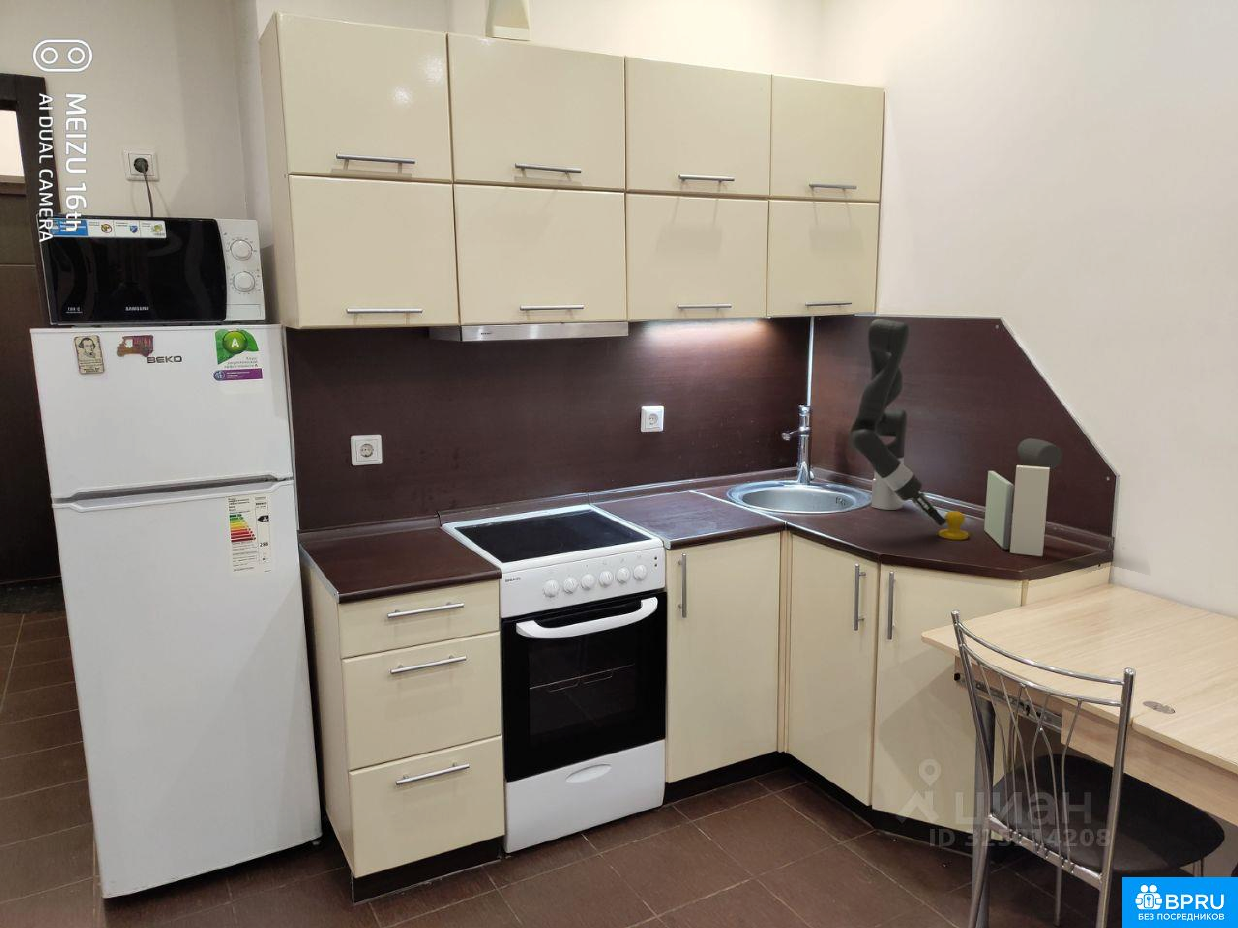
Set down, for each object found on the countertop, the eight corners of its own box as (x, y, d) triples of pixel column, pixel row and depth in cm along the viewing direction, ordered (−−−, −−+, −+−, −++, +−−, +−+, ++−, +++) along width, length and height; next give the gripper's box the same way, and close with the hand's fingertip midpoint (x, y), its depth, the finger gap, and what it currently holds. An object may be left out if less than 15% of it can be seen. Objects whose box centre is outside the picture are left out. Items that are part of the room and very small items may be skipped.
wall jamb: (1009, 552, 243) (1016, 466, 239) (1010, 549, 246) (1017, 464, 241) (1042, 556, 239) (1049, 469, 235) (1042, 553, 242) (1049, 467, 237)
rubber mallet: (1008, 538, 257) (1016, 436, 251) (1033, 538, 257) (1042, 436, 251) (1030, 550, 244) (1038, 443, 239) (1056, 550, 245) (1065, 443, 239)
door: (983, 529, 264) (987, 470, 261) (990, 529, 264) (994, 470, 261) (1003, 549, 244) (1008, 485, 241) (1010, 549, 244) (1015, 485, 240)
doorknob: (965, 533, 263) (970, 540, 255) (937, 532, 264) (941, 539, 257) (966, 508, 262) (972, 515, 254) (938, 507, 263) (943, 514, 255)
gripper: (915, 476, 252) (957, 520, 252) (908, 468, 265) (948, 509, 265) (895, 494, 254) (937, 537, 254) (889, 485, 267) (928, 525, 267)
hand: (942, 523), depth 260 cm, fingers closed
